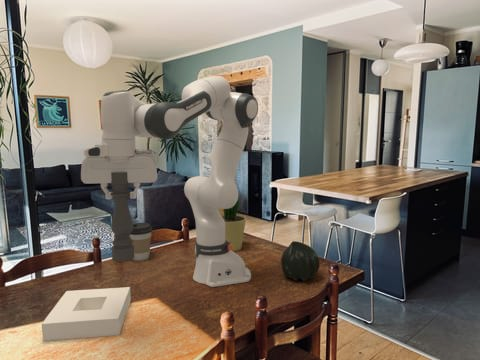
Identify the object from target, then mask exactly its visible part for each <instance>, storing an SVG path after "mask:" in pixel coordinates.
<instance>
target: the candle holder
mask: <svg viewBox="0 0 480 360" xmlns="http://www.w3.org/2000/svg"><path fill="white" fill-rule="evenodd" d="M109 184H110V185H111V188H112V190H113V191H111V192H112V193H111V195H112V199H113V204H114V209H113V215H112V219H111V224H110V229H111V232H112V233H113V234H114V239H113V240H112V242H111V243H112V246H111V259H112V261H113V262H117V263H118V262H127V261H132V260H133V258H134V245H133V244H132V243H133V240H132V239H131V237H130V235H131V234H130V233H131V231H132V230H133V224H134V222H133V219H132V215H131V212H130V208H129V203H130V202H129V198H130V192H131V191H129V189H130V187H131V183H128V178H127V172H111V183H109Z"/></svg>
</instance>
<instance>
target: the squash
mask: <svg viewBox="0 0 480 360" xmlns="http://www.w3.org/2000/svg"><path fill="white" fill-rule="evenodd" d="M280 264H281V269H282V273H283V275H285V276H286V277H287V278H289V279H292V280H294V281H296V282H297V281H300V280H301V281H302V282H306V281H307V280H309V279H312V278H315V276H316V274H317V273H318V272H319V269H320V259H319V257H318V254H317V253H316V251H315V250H314V249H313V247H311V246H310V245H309V244H305V243H303V242H301V241H295V240H293V241H292V242H291V243H289V245H288V246H287V248H286V249H285V250H284V252H283V253H282V256H281V259H280Z"/></svg>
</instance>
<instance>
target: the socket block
mask: <svg viewBox="0 0 480 360" xmlns="http://www.w3.org/2000/svg"><path fill="white" fill-rule="evenodd" d="M130 304H131V287H130V286H127V287H125V286H124V287H110V288H109V287H108V288H93V289H92V288H91V289H78V290H77V289H76V290H66V291H65V293H63V295H62V296H61V298H60V299H59V300H58V301H57V303H56V304H55V306H54V307H52V310H51V311H50V312H49V314H48V315H47V316H46V318H45V319H44V320H42V321H43V322H42V323H41V330H42V331H41V333H42V341H43V342H48V341H49V342H50V341H61V340H62V341H64V340H75V339H86V338H99V337H112V336H120V334H121V331H122V328H123V325H124V322H125V319H126V316H127V313H128V311H129V308H130Z"/></svg>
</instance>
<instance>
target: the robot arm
mask: <svg viewBox="0 0 480 360" xmlns="http://www.w3.org/2000/svg"><path fill="white" fill-rule="evenodd" d="M231 90H232V89H231V84H230V82H229V81H228V79H226V78H225V77H224V76H222V75H210V76H205V77H202V78H198V79H196V80H194V81H192V82H190V83H188V84H187V85H185V86H184V88H183V89H182V92H181V100H180V101H177V102H171V101H163V102H162V101H161V102H156V103H146V102H144V101H142V100H140V99H138V98H137V97H136V96H134V94H132V92H131V91H130V90H127V89H122V90H121V89H120V90H115V91H114V90H113V91H108V92H105V93H104V94H103V95H102V97H101V101H100V103H101V104H100V124H101V127H102V134H101V144H95V145H94V146H90V147H88V148H85V149H84V150H83V154H84V156H85V158H84V159H83V160H82V162H81V168H80V180H81V182H83V184H100V188H101V190H102V191H103V192H104V194H105V200H112V199H113V196H112V195H111V193H112V192H113V191H109V189H108V188H107V187H108V185H109V184H110V183H111V172H127V178H128V183H130V184H133V187H134V190H133V191H129V192H130V196H129V198H130V199H135V200H136V199H137V192H138V190H139V188H140V186H141V183H143V184H144V183H145V184H147V183H155V182H156V181H157V180H158V172H157V171H158V170H157V164H158V163H159V161H158V159H159V158H158V154H157V152H156V151H154V150H152V149H136V148H137V145H136V137H138V138H149V139H150V138H151V139H152V138H154V139H155V138H156V139H161V140H170V139H173V138H175V137H176V136H177V135H178V134H179V133H180V132H181V130H182V129H183V128H184V127H185V126H186V125H187V124H188V123H190V122H191V121H193V120H194V119H197V118H198V117H200V116H201V115H203V114H205V115H206V116H207V117H208V118H210V119H212V120H214V121H221V122H223V124H222V125H223V127H222V129H221V131H220V132H219V134H218V136H217V138H216V141H215V143H214V145H213V147H212V150H211V152H210V155H209V157H208V160H209V164H210V167H211V168H210V169H211V171H210V175H209V176H204V175H197V176H196V175H195V176H193V177H190V178H188V180H187V181H186V182H185V183H184V188H183V191H184V192H183V193H184V195H185V197H186V198H187V200H188V201H189V203H190V206H191V209H192V213H193V217H194V220H195V221H194V222H195V230H196V231H195V236H196V241H195V245H194V249H195V251H194V254H195V257H196V259H195V265H194V266H195V267H194V272H193V275H192V279H193V280H194V281H195V282H196V283H199V284H202V285H207V286H209V287H212V288H214V287H221V286H222V287H223V286H228V285H233V284H234V285H235V284H241V283H248V282H250V281H251V279H252V274H251V270H250V269H249V268H248V267H247V266H246V265H245V261H244V259H243V258H242V257H241V256H240V255H239V254H237V253H236V252H235V251H232V249H233V246H232V245H231V244H230V242H229V241H228V240H227V241H226V240H225V221H224V219H223V217H222V216H221V215H222V214H221V212H220V211H219V210H223V209H229V208H232V207H233V206H234V205H235V204H236V202H237V200H239V190H238V189H239V188H238V187H237V185H236V171H237V168H238V166H239V162H240V159H241V157H242V154H243V153H244V150H245V147H246V144H247V140H248V136H249V135H248V134H249V127H250V125H252V123H253V122H254V121H255V119H256V117H257V115H258V114H259V113H258V112H259V104H258V100H257V99H256V97H255V96H253V95H251V94H249V93H246V92H245V93H242V92H234V91H231Z"/></svg>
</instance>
